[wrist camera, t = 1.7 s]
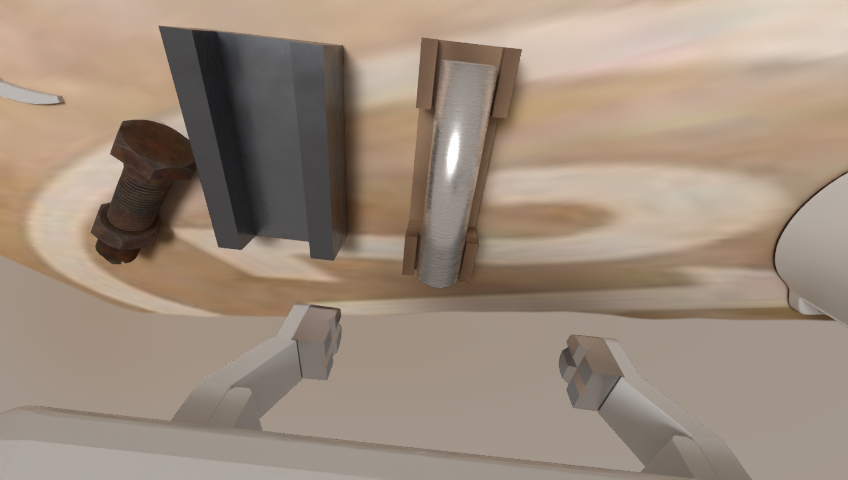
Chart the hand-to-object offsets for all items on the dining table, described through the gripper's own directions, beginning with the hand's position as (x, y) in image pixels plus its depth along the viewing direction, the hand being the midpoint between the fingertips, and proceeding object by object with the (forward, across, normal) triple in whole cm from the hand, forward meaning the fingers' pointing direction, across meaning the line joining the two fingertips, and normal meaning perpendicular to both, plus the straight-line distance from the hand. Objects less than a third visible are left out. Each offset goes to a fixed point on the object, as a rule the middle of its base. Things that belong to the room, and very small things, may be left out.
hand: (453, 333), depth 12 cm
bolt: (+20, +27, +6) cm, 34 cm away
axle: (+14, 0, 0) cm, 14 cm away
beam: (+19, 0, 0) cm, 19 cm away
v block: (+19, +14, 0) cm, 23 cm away
